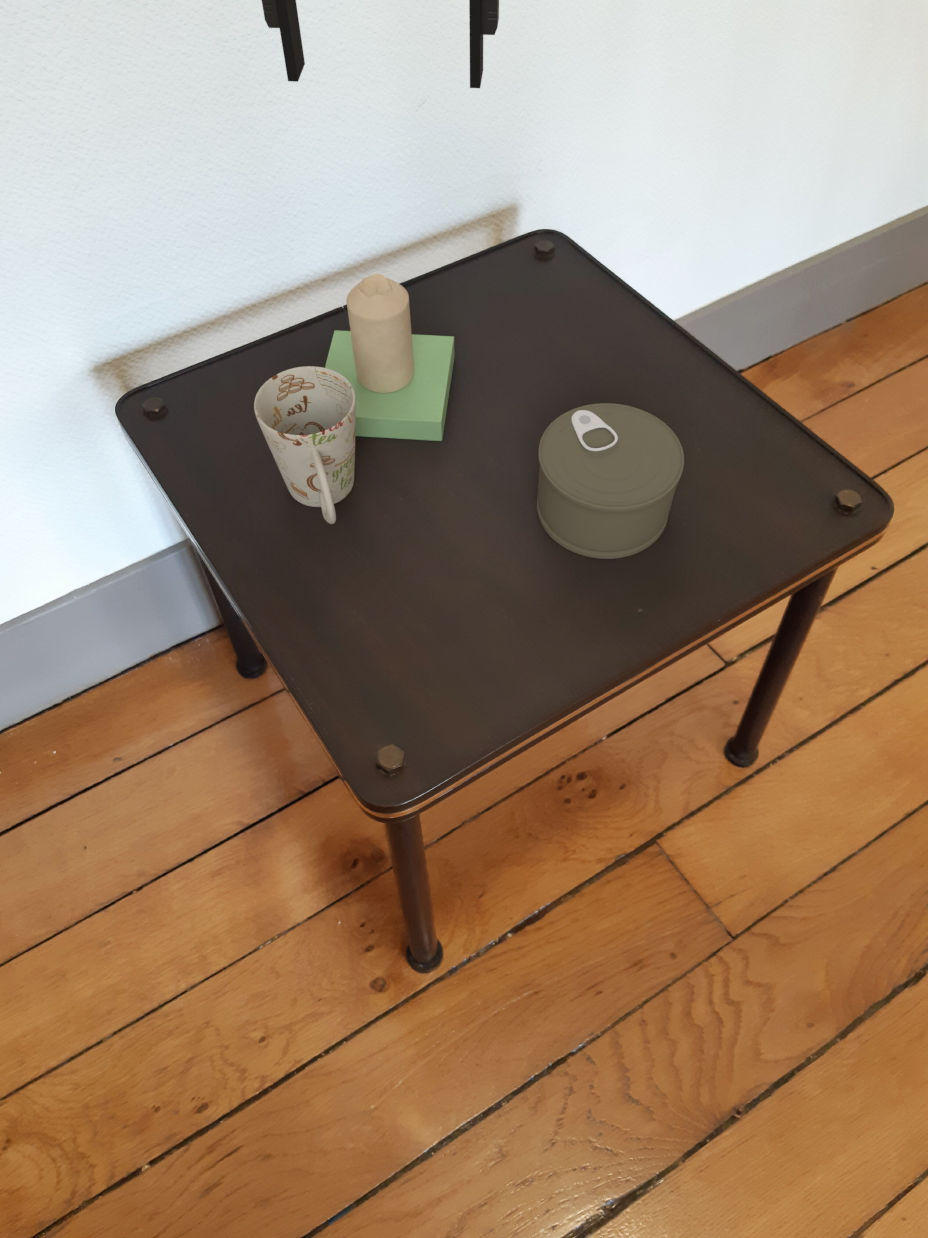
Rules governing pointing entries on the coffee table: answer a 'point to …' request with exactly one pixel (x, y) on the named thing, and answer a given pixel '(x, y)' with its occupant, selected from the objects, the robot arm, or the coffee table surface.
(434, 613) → the coffee table surface
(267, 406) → the mug
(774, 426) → the coffee table surface
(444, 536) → the coffee table surface
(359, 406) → the foam pad
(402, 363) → the candle
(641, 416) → the can
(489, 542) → the coffee table surface
